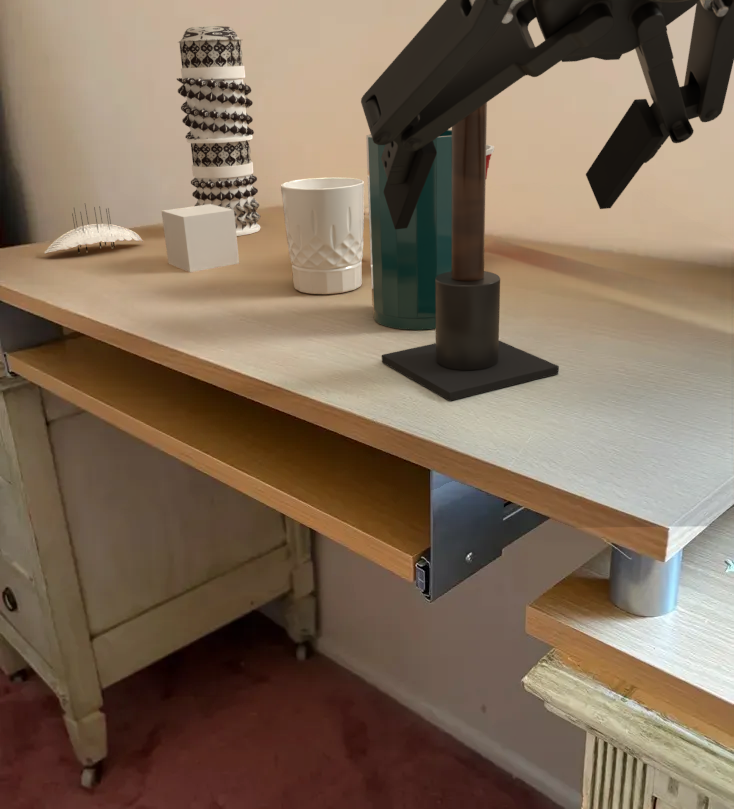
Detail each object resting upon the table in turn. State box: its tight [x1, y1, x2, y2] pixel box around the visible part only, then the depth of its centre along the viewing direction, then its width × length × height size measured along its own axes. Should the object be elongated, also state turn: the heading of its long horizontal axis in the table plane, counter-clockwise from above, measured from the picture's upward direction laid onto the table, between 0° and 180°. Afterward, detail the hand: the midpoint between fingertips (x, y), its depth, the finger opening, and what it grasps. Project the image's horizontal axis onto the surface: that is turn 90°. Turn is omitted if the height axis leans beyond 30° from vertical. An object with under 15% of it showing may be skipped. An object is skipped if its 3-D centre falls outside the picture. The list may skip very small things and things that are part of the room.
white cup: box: [280, 176, 365, 295], centre depth 80 cm, size 8×8×10 cm
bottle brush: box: [435, 102, 501, 371], centre depth 55 cm, size 4×4×21 cm
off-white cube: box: [160, 204, 240, 273], centre depth 93 cm, size 6×6×6 cm
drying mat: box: [381, 340, 560, 402], centre depth 59 cm, size 9×9×1 cm
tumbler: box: [365, 129, 452, 331], centre depth 69 cm, size 8×8×15 cm
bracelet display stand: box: [176, 25, 261, 237], centre depth 107 cm, size 9×9×25 cm
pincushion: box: [43, 204, 144, 254], centre depth 101 cm, size 12×6×6 cm, turn 122°
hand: (499, 200), depth 50 cm, fingers open, 13 cm apart
